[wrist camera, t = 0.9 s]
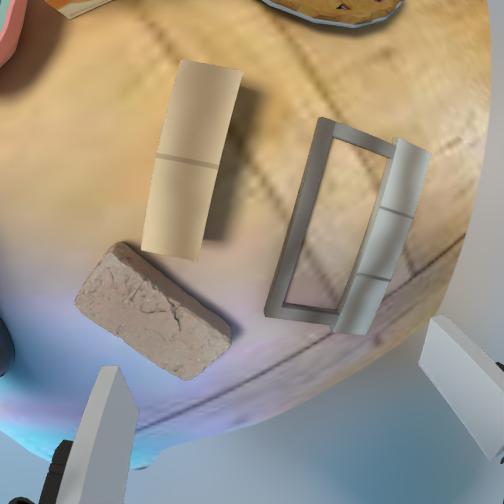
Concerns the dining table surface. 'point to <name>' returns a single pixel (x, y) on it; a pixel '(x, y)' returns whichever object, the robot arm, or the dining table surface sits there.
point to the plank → (189, 158)
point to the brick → (152, 314)
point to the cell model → (10, 26)
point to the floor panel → (376, 237)
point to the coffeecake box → (75, 6)
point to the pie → (339, 10)
